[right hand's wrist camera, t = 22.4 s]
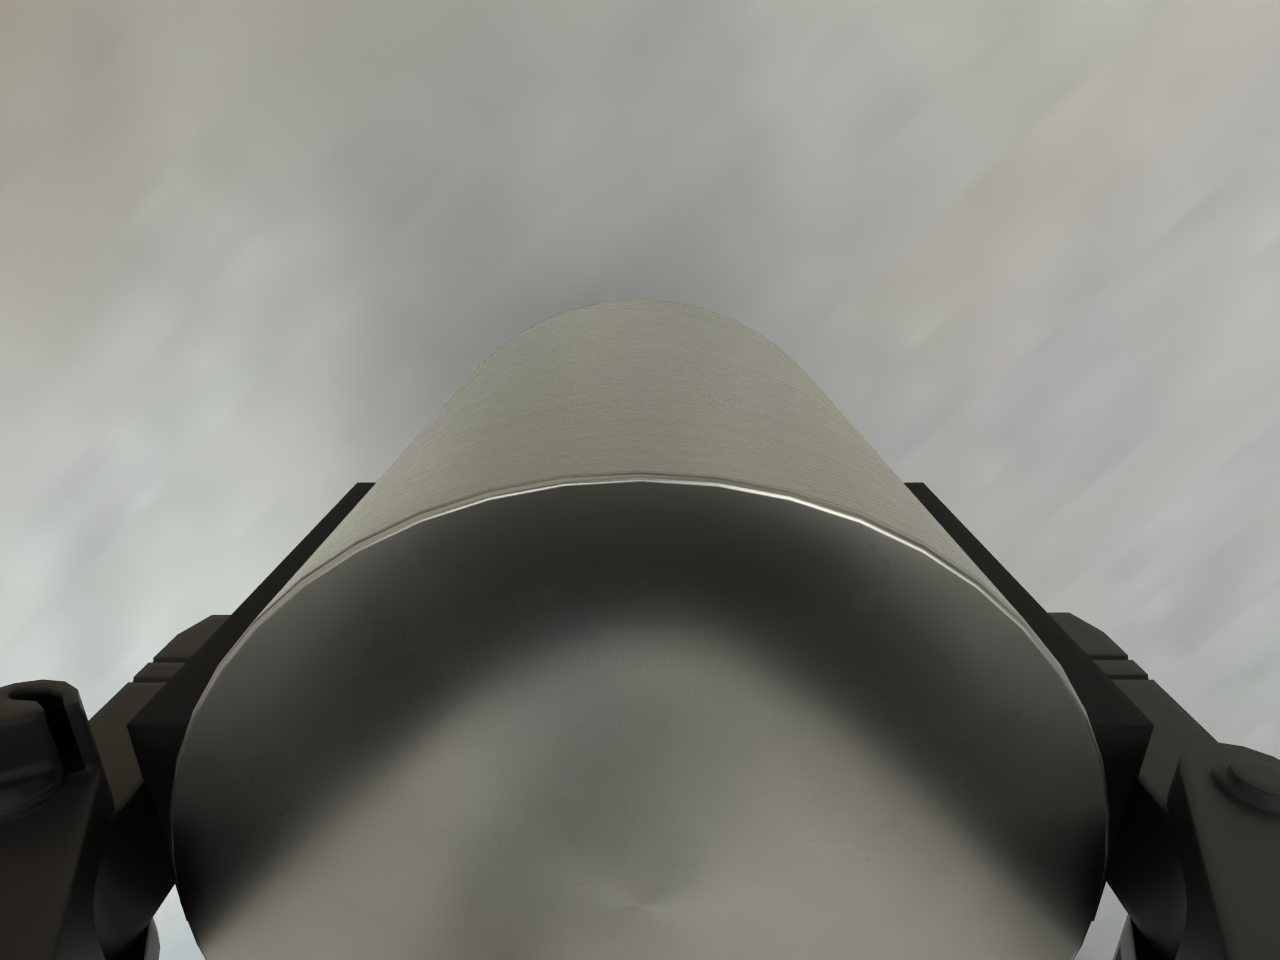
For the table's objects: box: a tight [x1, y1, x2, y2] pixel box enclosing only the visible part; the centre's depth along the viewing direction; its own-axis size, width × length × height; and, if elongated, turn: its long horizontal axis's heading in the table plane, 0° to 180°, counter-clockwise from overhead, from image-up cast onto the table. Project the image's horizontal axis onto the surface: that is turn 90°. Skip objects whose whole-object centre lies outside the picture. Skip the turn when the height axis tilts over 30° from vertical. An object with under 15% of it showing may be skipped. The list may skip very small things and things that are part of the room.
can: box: [169, 300, 1110, 960], centre depth 11 cm, size 9×9×9 cm
